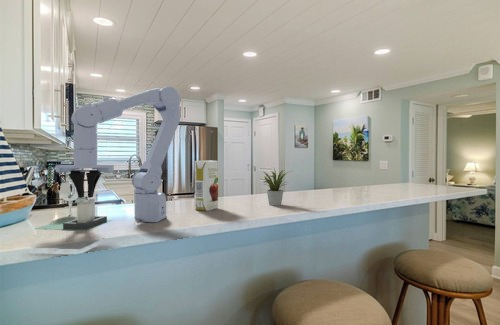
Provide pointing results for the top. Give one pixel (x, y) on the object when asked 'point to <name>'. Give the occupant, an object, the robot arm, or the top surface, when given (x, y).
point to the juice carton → (206, 185)
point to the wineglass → (68, 192)
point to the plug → (85, 210)
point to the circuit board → (76, 224)
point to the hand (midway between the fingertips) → (85, 197)
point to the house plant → (275, 188)
